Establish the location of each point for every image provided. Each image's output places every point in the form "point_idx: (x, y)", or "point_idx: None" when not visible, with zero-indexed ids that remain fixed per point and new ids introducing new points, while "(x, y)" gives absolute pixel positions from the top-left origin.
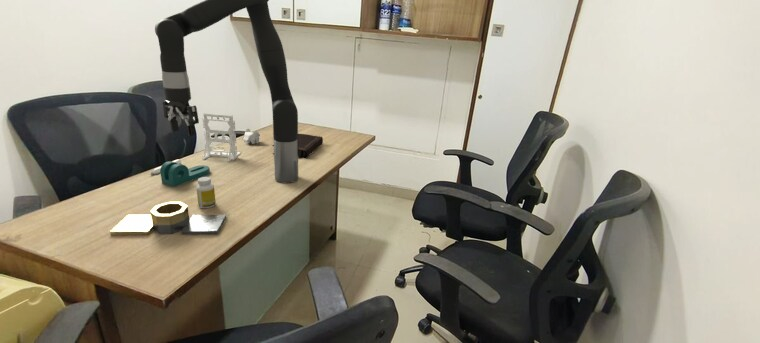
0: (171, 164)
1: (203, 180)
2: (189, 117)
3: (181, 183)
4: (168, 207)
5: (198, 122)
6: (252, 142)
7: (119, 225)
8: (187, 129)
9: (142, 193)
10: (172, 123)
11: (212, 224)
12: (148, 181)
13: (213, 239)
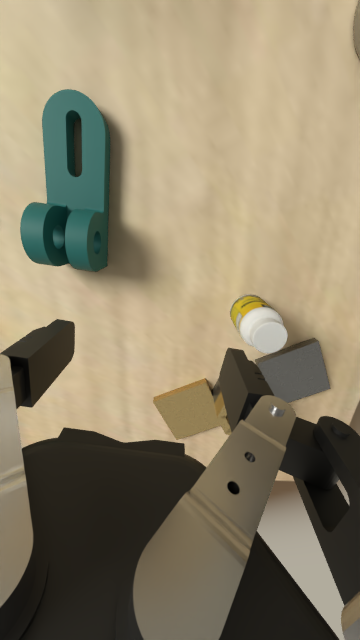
0: (46, 238)
1: (273, 346)
2: (325, 540)
3: (107, 243)
4: None
5: (349, 430)
6: None
7: (173, 426)
8: (228, 411)
9: (80, 323)
10: (43, 389)
11: (311, 376)
12: (23, 267)
13: (326, 395)
